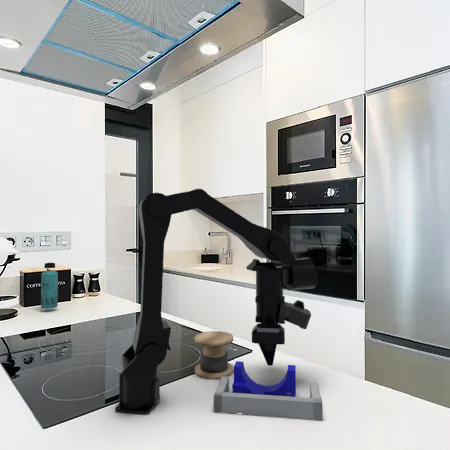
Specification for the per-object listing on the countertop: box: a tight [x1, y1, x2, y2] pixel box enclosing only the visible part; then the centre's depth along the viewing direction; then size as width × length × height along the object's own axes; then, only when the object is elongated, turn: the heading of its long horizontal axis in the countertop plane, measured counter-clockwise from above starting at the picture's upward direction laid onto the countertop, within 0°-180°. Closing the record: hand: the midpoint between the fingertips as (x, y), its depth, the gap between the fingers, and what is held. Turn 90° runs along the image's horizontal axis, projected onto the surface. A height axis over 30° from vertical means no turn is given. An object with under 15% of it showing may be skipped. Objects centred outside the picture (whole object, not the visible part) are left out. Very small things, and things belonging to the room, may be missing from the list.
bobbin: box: [194, 330, 234, 380], centre depth 83 cm, size 9×9×8 cm
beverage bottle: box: [40, 262, 59, 310], centre depth 148 cm, size 6×7×20 cm
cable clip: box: [231, 360, 297, 397], centre depth 70 cm, size 12×4×6 cm, turn 78°
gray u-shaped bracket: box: [213, 376, 324, 421], centre depth 67 cm, size 19×8×3 cm, turn 81°
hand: (270, 364), depth 75 cm, fingers closed
